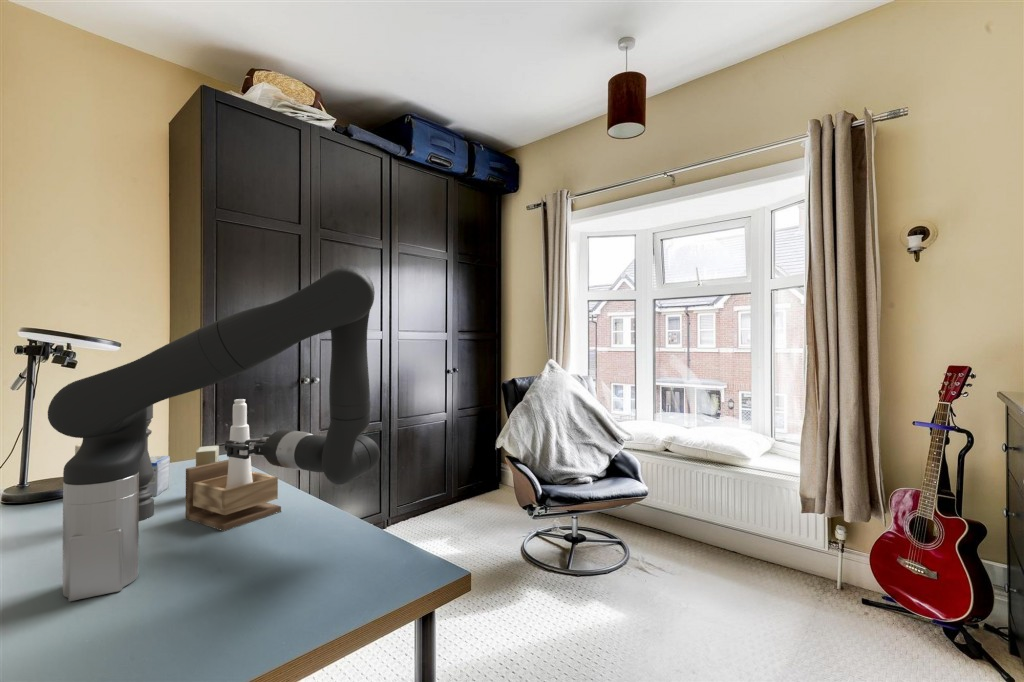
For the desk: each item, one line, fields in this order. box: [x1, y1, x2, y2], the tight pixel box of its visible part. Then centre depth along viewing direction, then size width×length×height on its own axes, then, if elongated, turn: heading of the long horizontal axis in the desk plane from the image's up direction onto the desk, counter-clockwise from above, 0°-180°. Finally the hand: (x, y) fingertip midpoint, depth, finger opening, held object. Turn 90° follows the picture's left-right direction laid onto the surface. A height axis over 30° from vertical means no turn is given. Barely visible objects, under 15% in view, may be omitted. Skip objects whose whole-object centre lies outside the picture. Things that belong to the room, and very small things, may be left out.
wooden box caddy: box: [185, 459, 282, 532], centre depth 107 cm, size 14×13×11 cm
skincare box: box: [195, 445, 220, 467], centre depth 120 cm, size 6×4×12 cm
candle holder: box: [139, 404, 155, 522], centre depth 105 cm, size 6×6×25 cm
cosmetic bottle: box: [226, 398, 253, 489], centre depth 107 cm, size 6×6×22 cm
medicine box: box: [148, 455, 171, 497], centre depth 123 cm, size 8×4×9 cm, turn 17°
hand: (246, 441), depth 105 cm, fingers open, 8 cm apart
